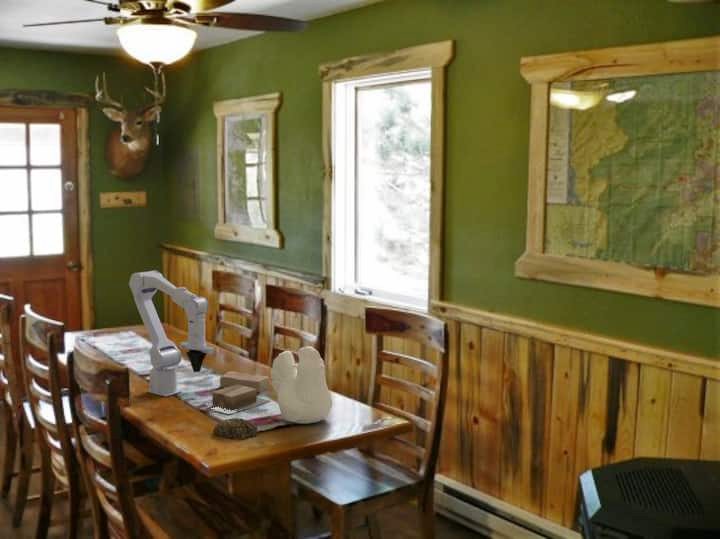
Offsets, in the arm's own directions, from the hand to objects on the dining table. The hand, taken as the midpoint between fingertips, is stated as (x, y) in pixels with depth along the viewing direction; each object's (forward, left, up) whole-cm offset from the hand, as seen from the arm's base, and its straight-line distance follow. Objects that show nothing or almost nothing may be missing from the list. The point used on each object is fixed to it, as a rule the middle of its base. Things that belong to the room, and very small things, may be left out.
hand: (196, 371), depth 269 cm
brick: (+1, +22, -10) cm, 25 cm away
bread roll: (+34, -15, -10) cm, 39 cm away
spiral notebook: (+15, +5, -10) cm, 19 cm away
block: (+9, +5, -8) cm, 12 cm away
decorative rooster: (+40, +8, -10) cm, 42 cm away
